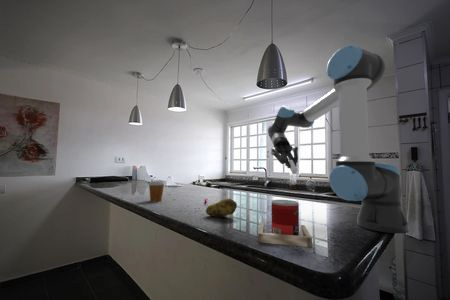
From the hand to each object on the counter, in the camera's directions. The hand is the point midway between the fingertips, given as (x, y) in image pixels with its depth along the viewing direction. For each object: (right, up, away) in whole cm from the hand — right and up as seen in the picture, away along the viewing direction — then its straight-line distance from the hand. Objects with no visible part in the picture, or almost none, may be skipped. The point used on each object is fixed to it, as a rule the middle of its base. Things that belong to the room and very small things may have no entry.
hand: (294, 171), depth 86 cm
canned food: (-11, -18, -23) cm, 31 cm away
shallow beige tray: (-11, -18, -22) cm, 30 cm away
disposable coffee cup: (-71, -22, +40) cm, 84 cm away
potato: (-30, -20, +2) cm, 36 cm away
